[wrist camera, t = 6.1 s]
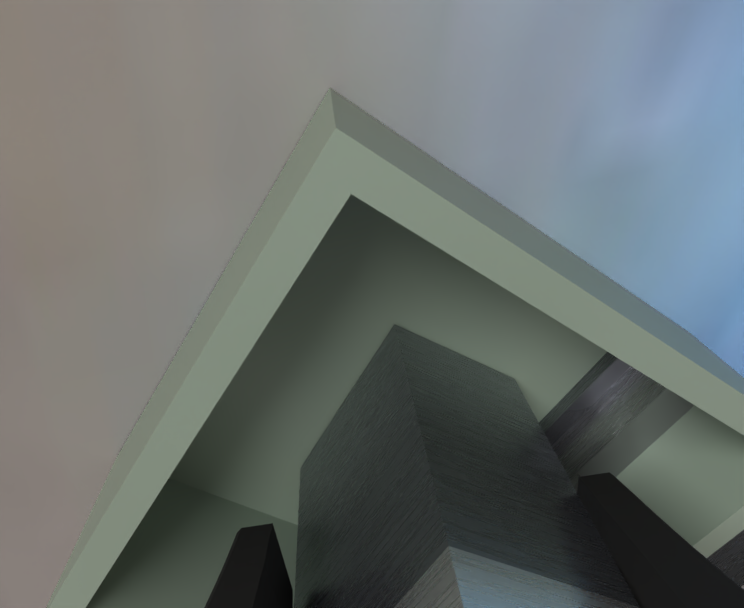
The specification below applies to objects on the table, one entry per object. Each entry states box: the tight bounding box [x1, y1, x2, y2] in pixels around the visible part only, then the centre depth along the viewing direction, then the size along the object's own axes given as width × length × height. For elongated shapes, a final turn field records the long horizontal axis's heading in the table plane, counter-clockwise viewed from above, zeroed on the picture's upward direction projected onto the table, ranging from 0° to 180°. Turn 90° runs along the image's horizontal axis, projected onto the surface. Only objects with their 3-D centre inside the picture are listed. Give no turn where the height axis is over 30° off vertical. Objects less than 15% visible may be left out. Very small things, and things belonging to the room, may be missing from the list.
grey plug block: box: [294, 324, 640, 608], centre depth 11 cm, size 4×5×7 cm
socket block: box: [539, 352, 744, 589], centre depth 16 cm, size 10×10×2 cm
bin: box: [46, 88, 744, 608], centre depth 12 cm, size 11×11×5 cm
